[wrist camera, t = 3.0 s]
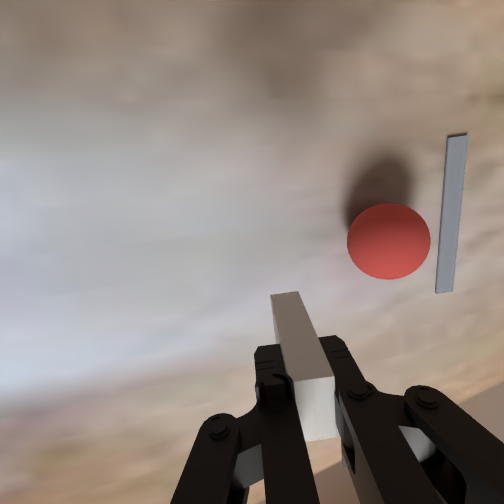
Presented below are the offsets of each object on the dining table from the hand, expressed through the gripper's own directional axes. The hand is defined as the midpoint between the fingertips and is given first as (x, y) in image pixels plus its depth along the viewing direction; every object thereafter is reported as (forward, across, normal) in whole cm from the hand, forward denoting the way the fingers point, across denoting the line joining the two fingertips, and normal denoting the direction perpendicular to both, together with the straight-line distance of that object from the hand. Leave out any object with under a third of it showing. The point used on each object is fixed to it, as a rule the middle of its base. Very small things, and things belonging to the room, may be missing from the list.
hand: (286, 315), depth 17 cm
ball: (+8, +9, 0) cm, 12 cm away
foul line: (+11, +16, 0) cm, 20 cm away
